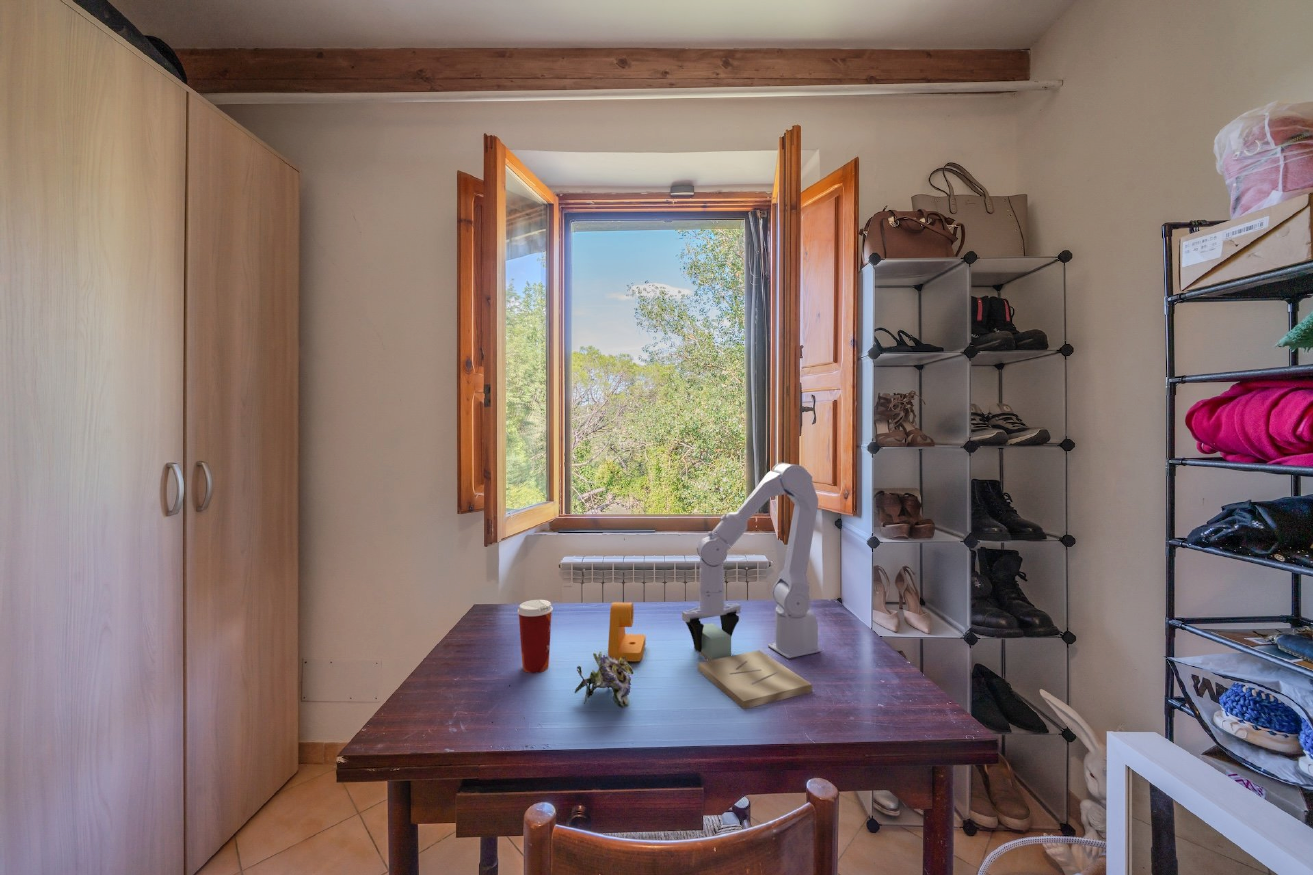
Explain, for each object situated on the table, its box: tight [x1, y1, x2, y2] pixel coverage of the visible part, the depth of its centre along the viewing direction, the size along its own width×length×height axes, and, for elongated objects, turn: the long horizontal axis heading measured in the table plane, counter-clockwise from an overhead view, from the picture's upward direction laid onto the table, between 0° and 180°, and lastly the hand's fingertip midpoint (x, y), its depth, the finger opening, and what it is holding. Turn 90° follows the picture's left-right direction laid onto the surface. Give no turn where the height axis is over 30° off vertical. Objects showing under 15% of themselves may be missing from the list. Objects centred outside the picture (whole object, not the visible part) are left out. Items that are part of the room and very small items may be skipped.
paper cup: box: [517, 599, 554, 674], centre depth 116 cm, size 8×8×14 cm
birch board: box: [697, 649, 813, 710], centre depth 110 cm, size 16×18×2 cm
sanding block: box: [693, 622, 732, 661], centre depth 123 cm, size 5×9×6 cm, turn 22°
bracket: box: [607, 601, 647, 662], centre depth 123 cm, size 11×7×12 cm, turn 174°
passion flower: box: [574, 651, 634, 709], centre depth 101 cm, size 11×11×12 cm
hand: (712, 647), depth 123 cm, fingers open, 7 cm apart
